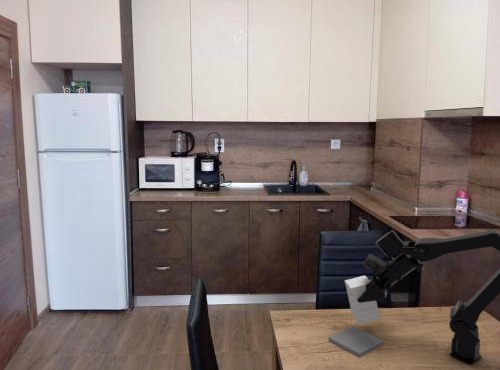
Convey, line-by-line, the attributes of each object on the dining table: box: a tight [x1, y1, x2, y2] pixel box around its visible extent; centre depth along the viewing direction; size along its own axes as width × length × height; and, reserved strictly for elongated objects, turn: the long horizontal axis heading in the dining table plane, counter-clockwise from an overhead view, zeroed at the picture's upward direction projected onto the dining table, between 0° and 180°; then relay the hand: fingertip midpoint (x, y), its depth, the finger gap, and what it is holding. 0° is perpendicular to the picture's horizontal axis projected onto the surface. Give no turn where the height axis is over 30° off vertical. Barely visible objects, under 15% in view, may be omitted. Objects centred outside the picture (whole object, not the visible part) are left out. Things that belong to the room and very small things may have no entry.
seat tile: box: [328, 325, 385, 358], centre depth 129 cm, size 12×12×1 cm
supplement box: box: [344, 275, 381, 325], centre depth 133 cm, size 7×7×13 cm
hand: (361, 295), depth 133 cm, fingers closed on supplement box, 9 cm apart
